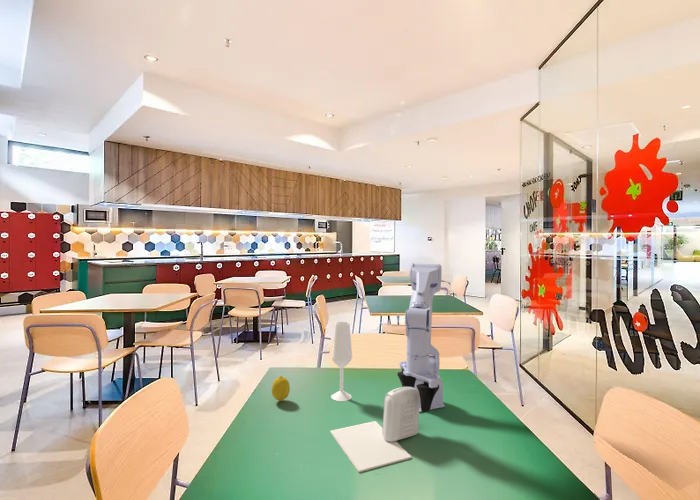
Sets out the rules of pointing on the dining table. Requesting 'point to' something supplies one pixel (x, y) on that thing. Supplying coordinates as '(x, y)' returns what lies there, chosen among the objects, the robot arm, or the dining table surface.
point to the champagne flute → (341, 355)
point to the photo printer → (401, 413)
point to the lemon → (280, 388)
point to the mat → (368, 446)
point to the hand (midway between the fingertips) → (417, 404)
